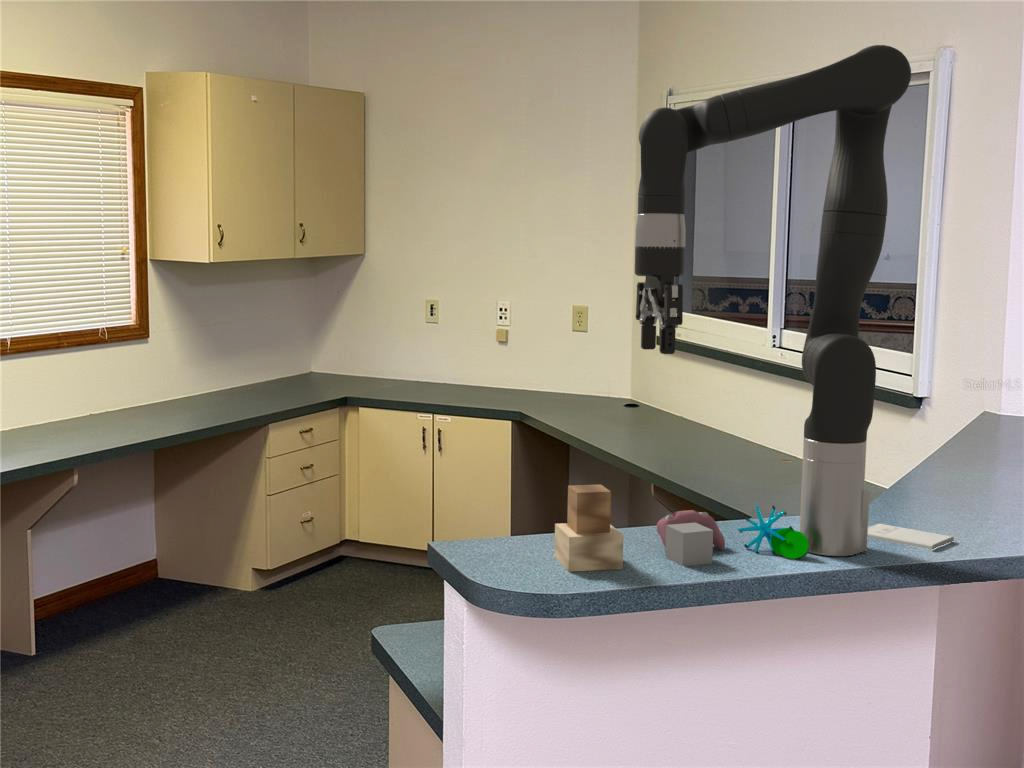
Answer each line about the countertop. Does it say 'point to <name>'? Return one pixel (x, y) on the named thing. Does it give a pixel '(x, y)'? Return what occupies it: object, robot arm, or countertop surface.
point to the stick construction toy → (778, 537)
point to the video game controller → (691, 517)
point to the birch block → (588, 549)
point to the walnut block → (589, 509)
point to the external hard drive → (908, 536)
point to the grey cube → (689, 544)
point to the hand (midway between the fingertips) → (657, 351)
